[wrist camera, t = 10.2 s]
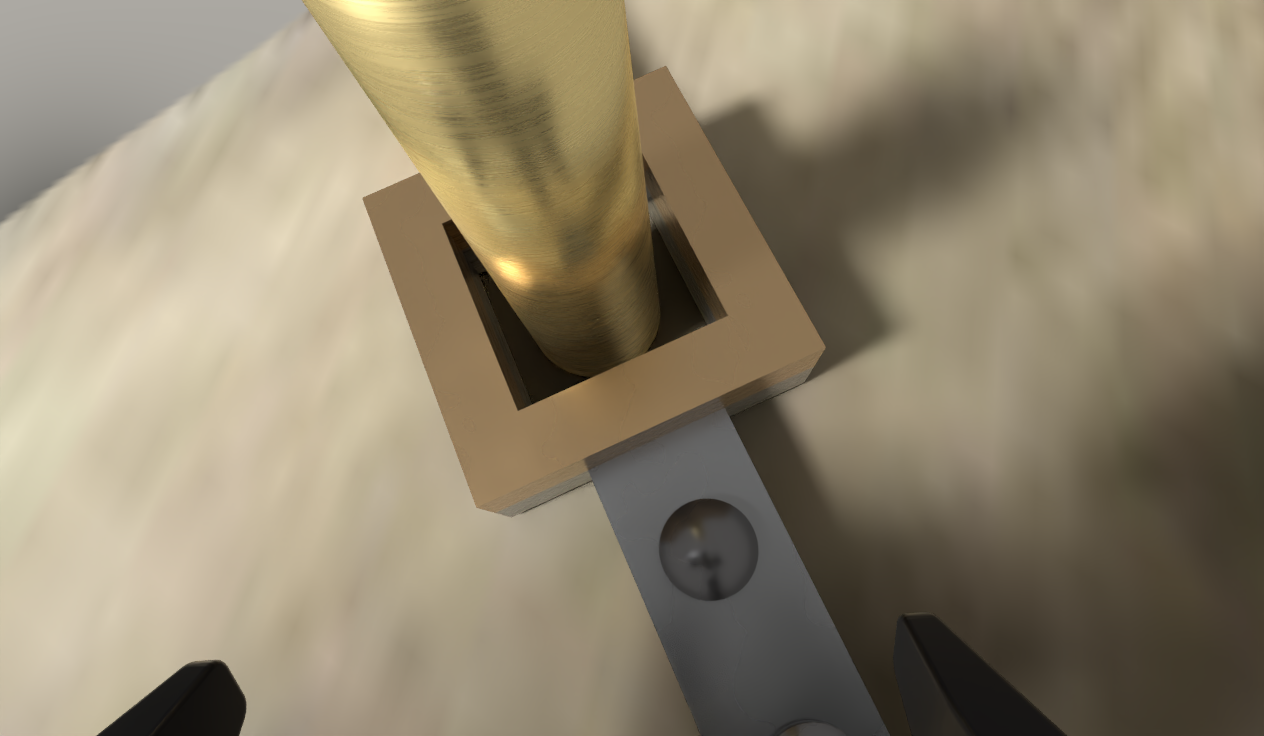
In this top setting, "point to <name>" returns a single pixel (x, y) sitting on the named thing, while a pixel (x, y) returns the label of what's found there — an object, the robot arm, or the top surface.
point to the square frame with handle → (654, 435)
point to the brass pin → (523, 153)
